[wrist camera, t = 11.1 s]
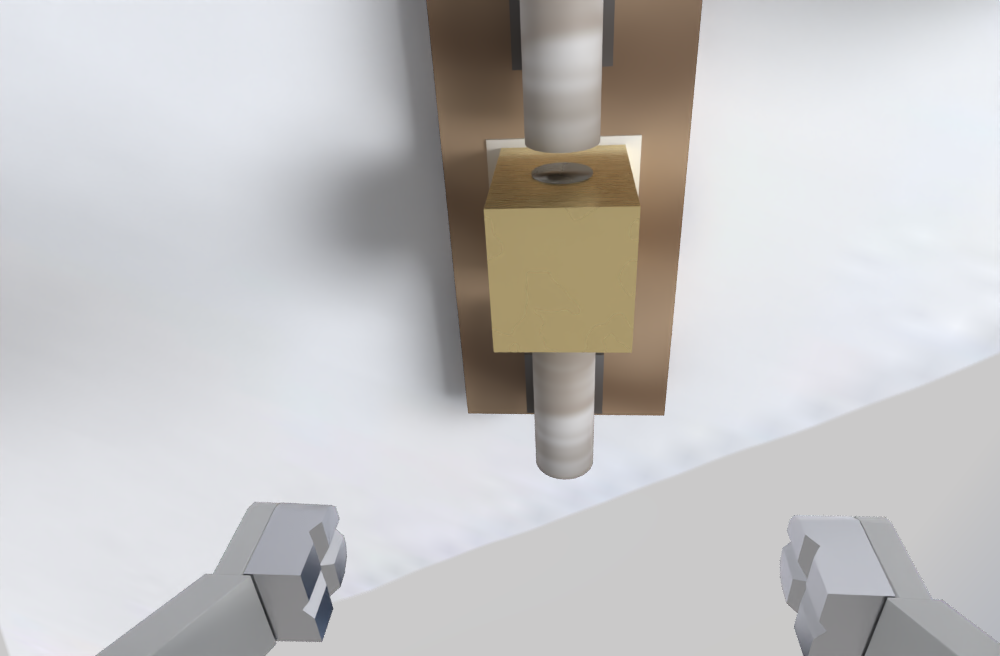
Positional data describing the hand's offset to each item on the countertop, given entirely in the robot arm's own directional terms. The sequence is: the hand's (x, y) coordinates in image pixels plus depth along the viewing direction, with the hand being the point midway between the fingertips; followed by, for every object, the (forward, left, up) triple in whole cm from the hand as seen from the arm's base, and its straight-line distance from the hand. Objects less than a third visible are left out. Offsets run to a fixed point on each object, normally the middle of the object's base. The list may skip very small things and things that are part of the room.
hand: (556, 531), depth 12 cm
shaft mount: (0, 0, -18) cm, 18 cm away
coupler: (0, 0, -16) cm, 16 cm away
